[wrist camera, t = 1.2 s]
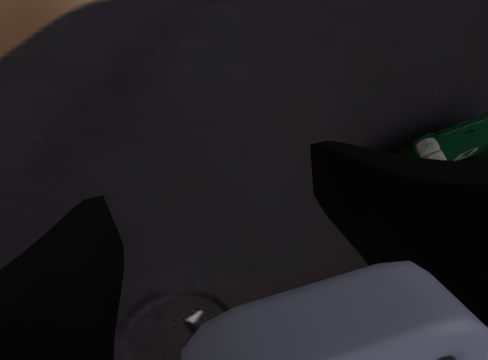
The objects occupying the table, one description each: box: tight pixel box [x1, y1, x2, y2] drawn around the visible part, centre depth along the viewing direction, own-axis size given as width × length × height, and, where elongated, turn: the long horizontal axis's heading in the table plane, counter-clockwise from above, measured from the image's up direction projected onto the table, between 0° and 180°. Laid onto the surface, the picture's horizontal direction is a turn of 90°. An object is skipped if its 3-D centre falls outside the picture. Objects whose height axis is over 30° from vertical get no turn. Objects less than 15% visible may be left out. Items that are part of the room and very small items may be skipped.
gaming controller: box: [398, 112, 488, 161], centre depth 24 cm, size 9×4×6 cm
